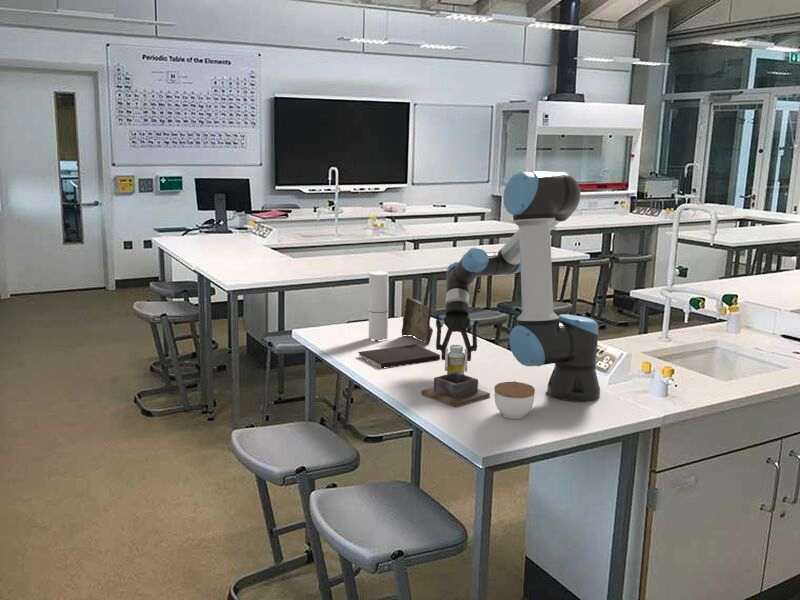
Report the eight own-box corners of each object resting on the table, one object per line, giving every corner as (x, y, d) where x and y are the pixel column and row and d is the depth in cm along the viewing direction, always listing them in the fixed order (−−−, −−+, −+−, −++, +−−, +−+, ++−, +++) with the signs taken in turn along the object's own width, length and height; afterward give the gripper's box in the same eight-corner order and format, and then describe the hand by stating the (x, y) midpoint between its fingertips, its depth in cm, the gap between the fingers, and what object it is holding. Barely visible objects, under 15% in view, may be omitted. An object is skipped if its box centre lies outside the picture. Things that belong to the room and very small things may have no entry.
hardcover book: (358, 358, 253) (358, 351, 253) (415, 350, 265) (415, 344, 265) (381, 370, 240) (381, 363, 239) (440, 361, 252) (440, 354, 251)
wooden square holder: (489, 397, 214) (490, 379, 213) (455, 407, 205) (456, 389, 204) (455, 385, 224) (456, 368, 223) (421, 394, 215) (421, 377, 214)
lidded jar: (541, 415, 200) (542, 381, 198) (519, 425, 192) (521, 390, 190) (507, 405, 207) (509, 373, 205) (485, 415, 199) (486, 381, 197)
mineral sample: (400, 336, 282) (401, 297, 279) (409, 335, 284) (410, 296, 281) (426, 346, 268) (427, 305, 265) (435, 345, 270) (436, 304, 267)
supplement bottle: (457, 379, 227) (458, 349, 225) (443, 376, 230) (444, 346, 229) (467, 375, 231) (468, 346, 229) (453, 372, 234) (454, 343, 233)
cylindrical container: (388, 336, 281) (389, 271, 276) (386, 341, 274) (387, 275, 269) (370, 336, 282) (370, 271, 277) (367, 340, 275) (367, 274, 270)
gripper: (485, 313, 242) (485, 375, 229) (429, 311, 243) (426, 373, 230) (486, 300, 236) (486, 364, 223) (428, 298, 237) (425, 362, 224)
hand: (455, 368), depth 226 cm, fingers closed on supplement bottle, 5 cm apart
